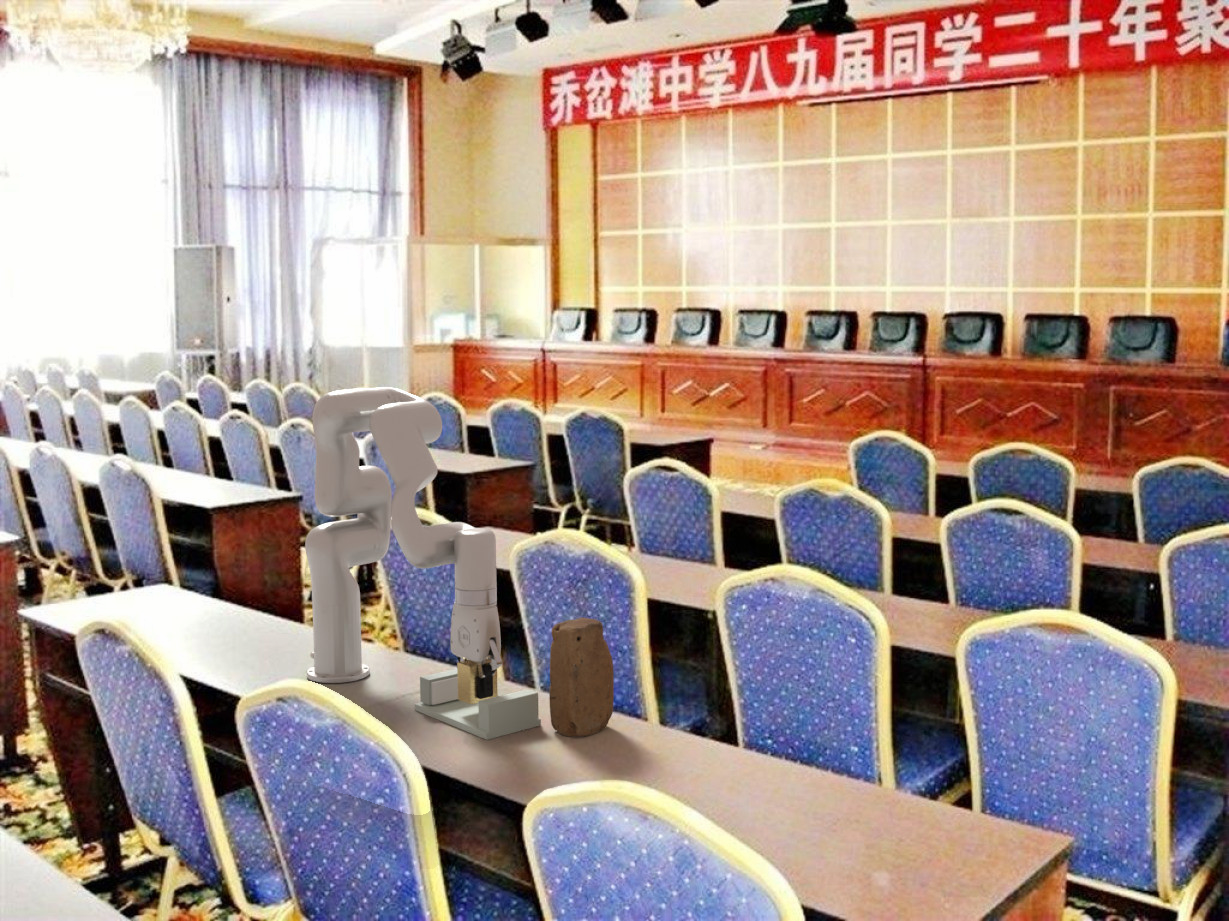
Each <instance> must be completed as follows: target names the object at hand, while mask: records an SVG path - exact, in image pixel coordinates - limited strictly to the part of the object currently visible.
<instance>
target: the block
mask: <svg viewBox="0 0 1229 921" xmlns="http://www.w3.org/2000/svg"><path fill="white" fill-rule="evenodd" d="M551 637H552V642H551V645H550V651H549V652H550V653H549V654H550V655H549V656H550V658H549V682H550V683H549V684H550V685H549V693H548V695H549V713H550V714H549V715H550V723H551V726H552V728H553V729H554V730H555V731H556V732H557V733H559V734H561V735H563V736H566V737H577V738H578V737H589V736H592V735H595V734H597V733H598V732H600V731H603V730H605V729H606V728H607V726H608V724H609V721H610V720H611V718H612V715H613V713H614V699H615V698H614V696H615V695H614V694H615V693H614V690H615V689H614V688H615V687H614V686H615V685H614V684H615V682H614V679H615V678H614V662H613V657H612V653H611V652H610V648H609V646H608V643H607V641H606V640H605V638H604V626H603V623H602V622H601V621H600V620H599V619H595V618H588V617H582V616H581V617H578V618H575V619H567V620H565V621H561V622H558V623H556V624H554V625H553V626H552V628H551Z"/></svg>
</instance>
